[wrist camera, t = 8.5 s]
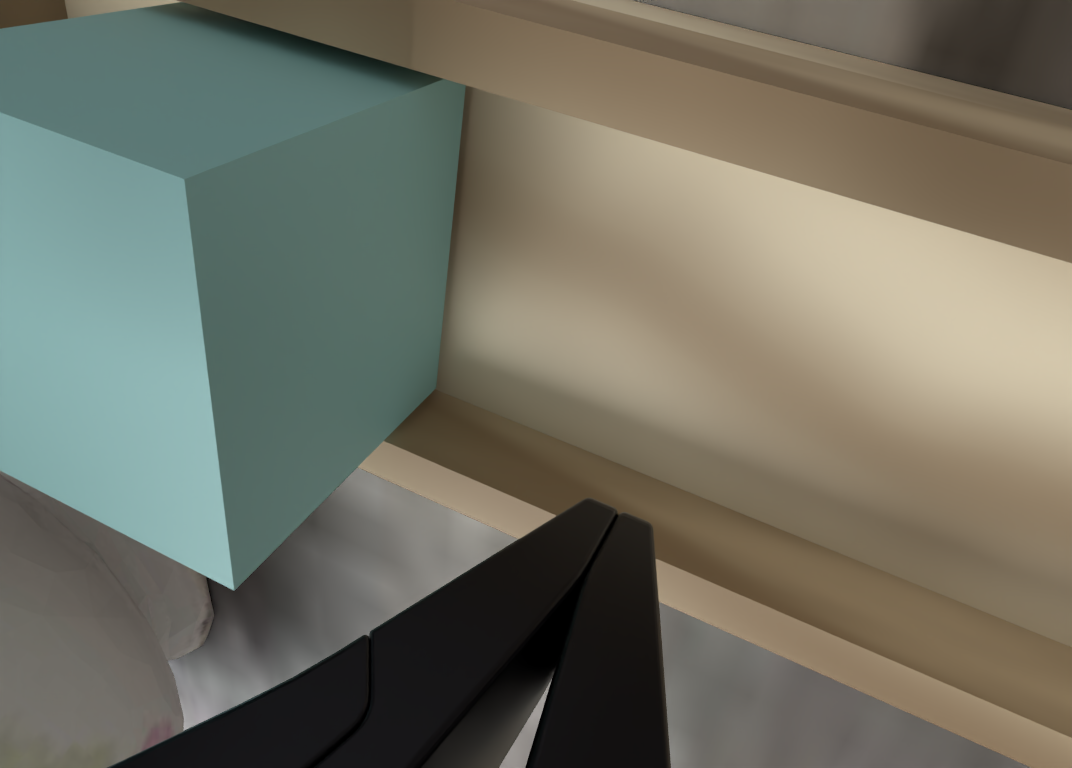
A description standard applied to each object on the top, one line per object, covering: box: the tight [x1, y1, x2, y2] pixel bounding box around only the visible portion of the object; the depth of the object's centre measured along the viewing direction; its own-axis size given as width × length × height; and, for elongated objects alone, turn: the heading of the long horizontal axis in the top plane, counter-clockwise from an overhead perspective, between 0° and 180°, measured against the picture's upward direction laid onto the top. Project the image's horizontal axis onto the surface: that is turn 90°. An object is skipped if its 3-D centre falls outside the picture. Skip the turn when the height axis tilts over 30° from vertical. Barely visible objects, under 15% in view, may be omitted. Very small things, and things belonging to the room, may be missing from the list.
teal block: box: [0, 2, 466, 591], centre depth 12 cm, size 6×5×6 cm
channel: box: [0, 0, 1072, 768], centre depth 13 cm, size 9×28×5 cm, turn 80°
